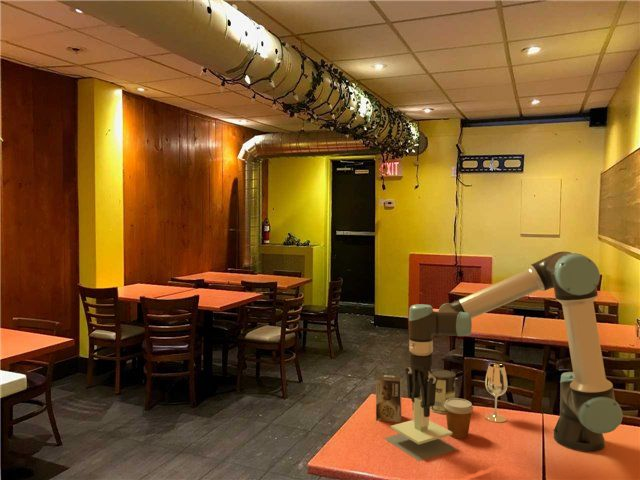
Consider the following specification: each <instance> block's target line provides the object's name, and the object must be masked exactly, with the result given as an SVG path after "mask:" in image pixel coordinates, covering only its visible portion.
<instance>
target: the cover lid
mask: <svg viewBox="0 0 640 480" xmlns="http://www.w3.org/2000/svg"><path fill="white" fill-rule="evenodd" d="M426 403H427V402H426ZM421 405H423V403H422V395H420V397H417V398H414V419H415V423H414V422H413V419H411V420H408V421H403V422H398V423H395V424H393V425H390V429H391V430H393V431H395V432H397V434H402V435H403V436H405V437H407V438H408V439H410V440H412V441H413V442H415V443H417V444H422V443H426V442H429V441H432V440H436V439H443V438H445V437H450V436H449V435H452V432H451V431H449V430H448V428H446V427H443V426H442V425H440V424H437V423H435V422H433V421H432V420H430V419H429V425H428V426H424V427H421Z"/></svg>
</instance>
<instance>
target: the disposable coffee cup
mask: <svg viewBox="0 0 640 480" xmlns="http://www.w3.org/2000/svg"><path fill="white" fill-rule="evenodd" d="M444 407H445V409H446V414H445V418H446V426H447V427H446V428H447V430H449V431H451V432H452V435H449V436H448V437H451V438H453V439H458V440H462V439H467V438H468V437H469V431H470V424H471V416H472V412H473V410H474V406H473V403H472V402H471V401H469V400H467V399H465V398H457V397H455V398H451V399H448V400H446V402H445V404H444Z"/></svg>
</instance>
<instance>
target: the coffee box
mask: <svg viewBox="0 0 640 480" xmlns="http://www.w3.org/2000/svg"><path fill="white" fill-rule="evenodd" d="M375 421H381V422H382V421H384V422H395V423H402V422H401V421H402V375H392V374H377V376H376V379H375Z"/></svg>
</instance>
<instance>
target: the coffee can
mask: <svg viewBox="0 0 640 480" xmlns="http://www.w3.org/2000/svg"><path fill="white" fill-rule="evenodd" d="M431 372H432V375H433V376H434V377H437V378H438V380H437V383H436V394H435V405H434V406H431V407H430V412H433V413H437V414H445V415H446V409H445V407H444V404H445V402H446V400H448V399H451V398H456V375H457V374H456V373H455V372H454V371H451V370H447V369H431Z"/></svg>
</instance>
